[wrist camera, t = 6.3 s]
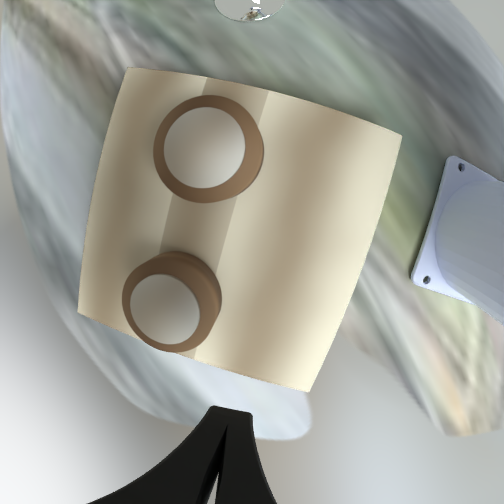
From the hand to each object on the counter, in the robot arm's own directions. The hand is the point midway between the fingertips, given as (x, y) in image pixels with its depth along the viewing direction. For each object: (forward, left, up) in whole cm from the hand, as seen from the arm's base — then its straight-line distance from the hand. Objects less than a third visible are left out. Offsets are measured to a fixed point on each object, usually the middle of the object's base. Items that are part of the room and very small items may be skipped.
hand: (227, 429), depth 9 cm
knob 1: (+4, -8, -9) cm, 13 cm away
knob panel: (+3, -5, -9) cm, 11 cm away
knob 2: (+4, -2, -9) cm, 10 cm away
